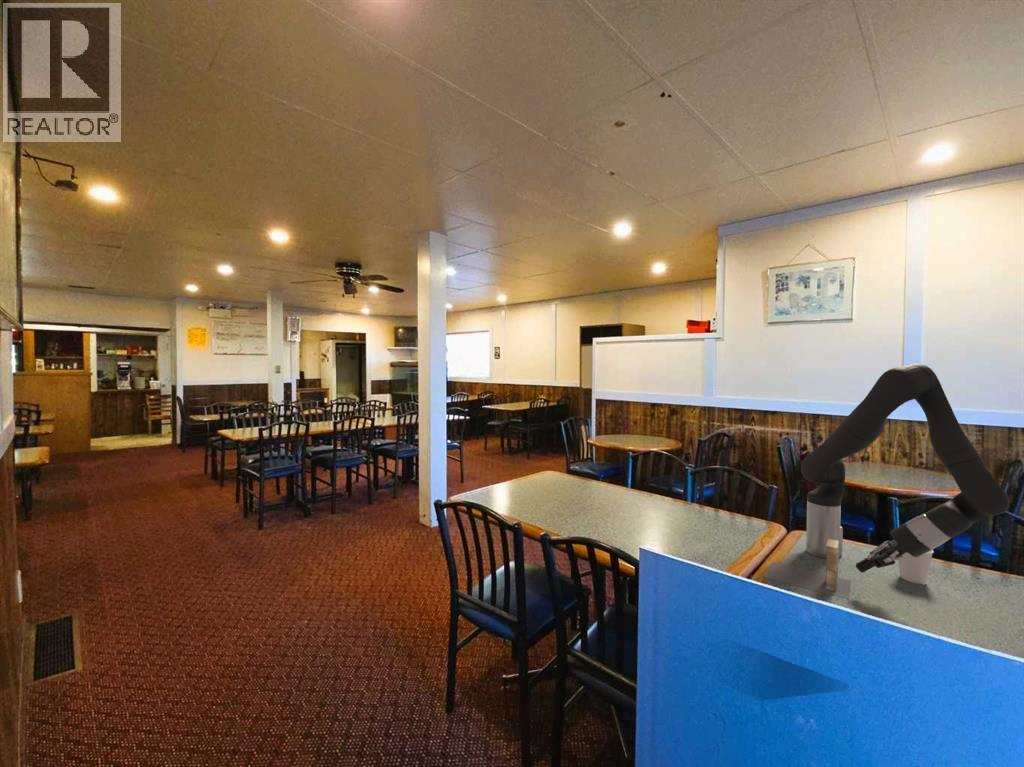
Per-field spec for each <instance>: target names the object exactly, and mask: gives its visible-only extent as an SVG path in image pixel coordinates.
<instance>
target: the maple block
mask: <svg viewBox="0 0 1024 767" xmlns="http://www.w3.org/2000/svg"><path fill="white" fill-rule="evenodd" d="M838 556H839V541H838V540H833V539H828V542H827V545H826V558H825V574H826V578H825V588H827V589H830V590H834V591H836V590H837V584H838V577H839V558H838Z"/></svg>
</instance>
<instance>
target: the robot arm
mask: <svg viewBox="0 0 1024 767" xmlns="http://www.w3.org/2000/svg"><path fill="white" fill-rule="evenodd" d="M913 400H915V401H916V403H917V404H918V405H919V406H920V407H921V409H922V411H923V413H924V415H925V418H926V421H927V427H928V434H929V440H930V441H929V442H930V444H931V446H932V449H933V451H934V453H935V454H936V455H937V458H938V459H939V460H940V462H941V463H942V465H943V466H944V468H945V469H946V471H947V472H948V473H949V475H950V476H951V477H952V478H953V479H954V481H955V482H956V485H957V487H958V489H959V491H960V492H959V493H957V495H955V496H953V497H952V498H951V499H949V500H948V501H946V502H944V503H942V504H940V505H937V506H935V507H933V508H932V509H930V510H928V511H927V512H924V513H923V514H920V515H917V516H915V517H914V518H912V519H910V520H908V521H906V522H905V523H902V524H901V525H899V526H897V527H895V528H893V529H892V530H891V531H890V535H891V536H892V538H893V540H884V541H883V542H881V543H880V544H879V545H878V546H877V547H875V548H874V549H873V550H872V551H870V552H869V554H868V555H867V557H866V558H864V559H862V560H859V561H858V562H857V563H855V568H856V569H857V570H858V571H859V572H860V573H865V572H867V571H869V570H871V569H872V568H877V569H880V568H884V567H887V566H891V565H895V564H896V561H898V560H899V559H901V558H902V555H903V554H905V553H909V554H910V555H911V556H913V557H919V556H921V555H923V554H925V553H927V552H929V551H930V550H934V549H935V548H939V547H940V546H942V545H944V544H945V543H946V542H947V541H949V540H950V539H952V538H954V537H956V536H958V535H960V534H962V533H964V532H966V531H968V529H970V528H971V527H972V526H973V525H974V524H975V523H977V522H980V521H982V520H983V519H985V518H987V517H990V516H998V515H1002V514H1004V513H1005V512H1007V511H1008V510H1009V507H1010V504H1011V500H1010V498H1009V495H1008V494H1007V493H1006V491H1005V490H1004V489H1003V488H1002V486H1001V485H1000V483H999V482H998V481H997V480H996V478H995V477H994V476H993V475H992V473H991V472H990V471H989V469H988V468H987V466H986V463H985V462H984V460H983V458H982V457H981V455H980V454H979V452H978V451H977V449H976V448H975V447H974V445H973V443H972V442H971V440H970V439H969V438H968V437H967V435H966V434H965V432H964V430H963V428H962V426H961V425H960V423H959V421H958V419H957V417H956V414H955V413H954V410H953V408H952V406H951V404H950V402H949V400H948V398H947V396H946V392H945V390H944V388H943V387H942V384H941V382H940V380H939V378H938V376H937V375H936V373H935V372H934V370H933V369H932V368H930V367H929V366H928V365H925V364H922V363H908V364H904V365H901V366H896V367H893V368H890V369H888V370H886V371H885V372H883V373H882V374H881V376H879V377H878V379H877V380H876V382H875V383H874V385H873V386H872V388H871V389H870V391H869V392H868V393H867V395H866V396H865V398H864V399H863V400H861V402H860V403H859V404H858V405H857V406H856V407H855V408H854V409H853V411H851V412H850V413H849V414H848V415H847V416H846V417H845V418H844V419H843V421H841V423H840V424H839V425H838V426H837V427H836V429H835V430H834V431H833V432H831V434H830V435H829V436H828V437H827V438H826V439H825V440H824V441H823V442H822V443H821V444H820V445H819V446H818V447H816V448H815V449H814V450H813V451H811V452H810V453H809V454H808V455H807V456H805V458H804V459H803V461H802V463H801V468H800V472H801V475H802V477H803V479H805V480H807V481H808V482H811V483H815V484H819V486H817V487H816V488H814V489H812V490H809V492H808V493H807V494H806V495H807V496H806V497H807V498H806V499H807V501H806V503H807V504H806V537H805V538H806V539H805V540H806V546H805V550H806V552H807V553H808V554H810V555H813V556H816V557H819V558H823V559H826V545H827V542H828V539H833V540H838V541H839V556H838V559H839V558H840V557H843V541H844V539H843V538H844V537H843V535H844V534H843V533H844V529H843V527H842V526H841V510H842V509H841V505H842V499H843V497H844V494H845V484H846V483H845V481H846V466H845V464H844V461H843V459H845V458H849V457H851V456H853V455H856V454H857V453H859V452H862V451H864V450H866V449H868V447H869V446H870V445H872V444H873V443H874V442H875V441H876V440H877V439H878V438H879V437H880V436H881V435H882V433H883V432H884V429H885V426H886V421H887V418H889V416H890V415H891V414H893V412H895V411H896V410H897V409H898V408H899V407H901V406H902V405H904V404H905V403H907V402H909V401H913Z"/></svg>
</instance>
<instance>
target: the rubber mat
mask: <svg viewBox="0 0 1024 767" xmlns="http://www.w3.org/2000/svg"><path fill="white" fill-rule="evenodd" d="M763 578H764V579H770V580H773V581H776V582H781V583H784V584H788V585H792V586H795V587H800V588H803V589H807V590H811V591H813V592H818V593H822V594H826V595H830V596H834V597H838V598H841V599H845V600H850V592H851V582H852V580H851V579H846V578H842V577H839V576H838V584H837V590H836V591H834V590H830V589H827V588H825V578H826V573H821V572H817V571H813V570H809V569H804V568H801V567H797V566H792V565H788V564H784V563H779V562H775V561H771V563H770V565H769V566H768V568H767V571H766V572H765V573H764V576H763Z"/></svg>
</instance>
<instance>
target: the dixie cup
mask: <svg viewBox="0 0 1024 767" xmlns="http://www.w3.org/2000/svg"><path fill="white" fill-rule="evenodd" d="M934 552H935V551H934V549H932V550H930V551H929V552H927V553H925V554H923V555H921V556H919V557H913V556H911V555H910V554H909V553H905V554H903V555H902V558H901V559H899V560H897V562H898V563H897V564H898V569H899V570H898V571H899V577H900V578H901V579H903V580H904V581H907V582H910V583H913V584H920V585H921V584H922V585H923V586H926V585H927V581H928V579H929V578H928V577H929V576H928V575H929V573H930V567H931V562H932V557H933V554H934ZM925 584H926V585H925Z"/></svg>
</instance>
